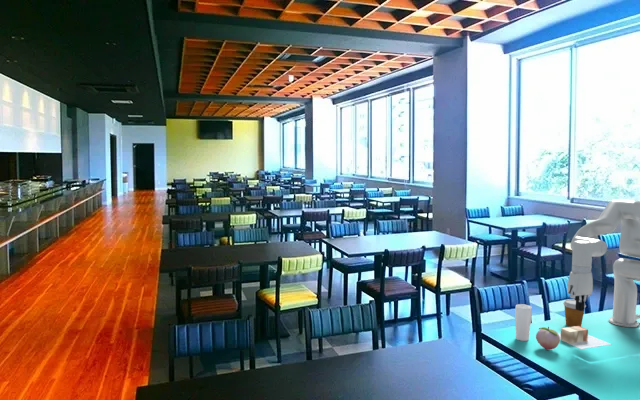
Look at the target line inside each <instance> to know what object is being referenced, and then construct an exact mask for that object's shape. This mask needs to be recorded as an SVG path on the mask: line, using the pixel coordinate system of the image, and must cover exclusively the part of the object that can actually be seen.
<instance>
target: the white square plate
mask: <svg viewBox="0 0 640 400" xmlns="http://www.w3.org/2000/svg"><path fill="white" fill-rule="evenodd" d="M557 333H558V334H559V336H560V341H561V342H564V343H566V344H568V345H570V346H572V347H575V348H577V349H579V350H584V349H591V348H598V347H602V346H603V347H605V346H610V345H611V346H612V344H611V343H610V342H607V341H605V340H603V339H600V338H597V337H596V336H592V335H590V334H588V340H587V341H582V342H575V343H567V342H565V341H563V340H561V332H557Z"/></svg>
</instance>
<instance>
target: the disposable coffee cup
mask: <svg viewBox="0 0 640 400" xmlns="http://www.w3.org/2000/svg"><path fill="white" fill-rule="evenodd" d="M563 306H564V315H565V318H564V319H565V325H566V326H567V327H574V326H580V327H582V324H583V318H584V314H585V310H586V307H587V305H586V304H585V305H584V311H579V310H576V301H575V299H573V298H568V299H565V300H564V301H563Z"/></svg>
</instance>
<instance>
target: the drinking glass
mask: <svg viewBox="0 0 640 400" xmlns="http://www.w3.org/2000/svg"><path fill="white" fill-rule="evenodd" d="M514 309H515V311H514V318H515V319H514V321H515V339H516V340H518V341H521V342H527V341H529V339H530V331H531V330H530V329H531V324H532V323H531V322H532V314H533V312H532V310H533V307H532V306H531V305H528V304H524V303H523V304H522V303H518V304H516V305H515V308H514Z"/></svg>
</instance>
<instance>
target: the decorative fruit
mask: <svg viewBox="0 0 640 400" xmlns="http://www.w3.org/2000/svg"><path fill="white" fill-rule="evenodd" d="M558 333H559V332H557V331H556V330H554V329H553V328H550V327H549V326H547V327H544V326H543V327H539V328H538V331H537V332H536V334H535V339H536V342H537V343H538V344H539V345H540V346H541V347H542V348H543V349H545V350H547V351H550V350H555V349H556V348H557V347H558V346H559V344H560V341H561V340H560V336H559V334H558Z"/></svg>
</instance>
